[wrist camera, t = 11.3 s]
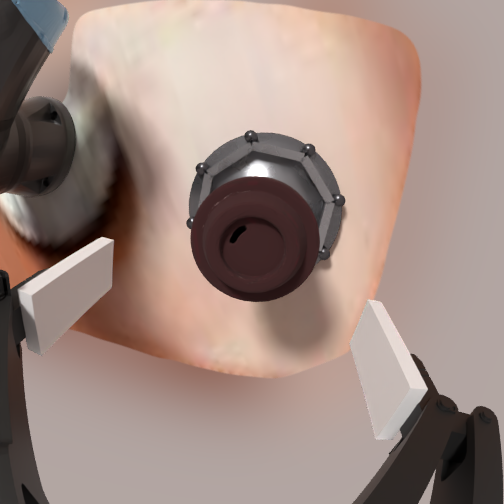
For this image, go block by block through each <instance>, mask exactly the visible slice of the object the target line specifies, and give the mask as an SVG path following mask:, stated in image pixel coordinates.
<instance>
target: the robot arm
mask: <svg viewBox="0 0 504 504" xmlns="http://www.w3.org/2000/svg"><path fill="white" fill-rule="evenodd" d="M68 20H69V14H68V11H67V9H66V8H65V7H64V6H63V5H62V4H61V3H60V2H58V1H57V0H0V194H2V193H11V194H16V195H21V196H26V197H37V196H40V195H44V194H47V193H50V192H51V191H53V190H54V189H56V188H57V187H58V186H59V185H60V184H61V183H62V181H63V180H64V178H65V177H66V175H67V173H68V171H69V169H70V166H71V163H72V160H73V155H74V149H75V131H74V125H73V121H72V118H71V116H70V113H69V112H68V110H67V108H66V107H65V106H64V105H63V104H62V103H61V102H60V101H58V100H56V99H54V98H50V97H42V96H38V97H32V98H29V99H26V100H24V98H25V96H26V94H27V92H28V91H29V89H30V87H31V85H32V83H33V81H34V79H35V78H36V76H37V74H38V72H39V71H40V69H41V67H42V66H43V64H44V62H45V61H46V59H47V57H48V56H49V54H50V53H52V52H53V47H54V46H55V44H56V42H57V40H58V38H59V37H60V35H61V34H62V32H63V30H64V29H65V27H66V26H67V23H68ZM23 100H24V101H23ZM113 247H114V240H112V239H108V238H104V237H101V238H99V239H97V240H95V241H94V242H92V243H90V244H89V245H87V246H85V247H83V248H82V249H80V250H78V251H77V252H75V253H74V254H72V255H70V256H69V257H67V258H65V259H64V260H62V261H60V262H59V263H57V264H56V265H54V266H52V267H51V268H47V269H44V270H41V271H38V272H37V273H35V274H33V275H32V277H29V278H27V279H26V281H25V280H24V281H23V282H21V283H20V284H18V285H17V286H15V287H13V288H12V289H10V283H9V275H8V273H7V272H6V271H3V270H0V504H49V502H48V500H47V498H46V496H45V494H44V491H43V489H42V486H41V482H40V478H39V474H38V470H37V466H36V461H35V457H34V452H33V447H32V442H31V436H30V430H29V424H28V417H27V409H26V401H25V392H24V380H23V367H22V366H23V365H22V348H21V343H20V342H21V341H22V340H23V339H24V338H26V342H27V346H28V349H29V350H31V351H33V352H35V353H37V354H39V355H41V356H42V355H43V354H44V353H45V352H46V351H47V350H48V349H49V348H50V347H51V346H52V345H53V344H54V343H55V342H56V341H57V340H58V339H59V338H60V337H61V336H62V335H63V334H64V333H65V332H66V331H67V330H68V329H69V328H70V327H71V326H72V325H73V324H74V323H75V322H76V321H77V320H78V319H79V318H80V317H81V316H82V315H83V314H84V313H85V312H86V311H88V310H89V309H90V308H91V307H92V306H93V305H94V304H95V303H96V302H97V301H98V300H99V299H100V298H101V297H102V296H103V295H104V294H105V293H107V292H108V291H109V290H110V289H111V288H112V269H113ZM349 344H350V348H351V351H352V354H353V357H354V361H355V365H356V368H357V372H358V375H359V379H360V382H361V386H362V389H363V393H364V397H365V400H366V404H367V408H368V412H369V416H370V419H371V423H372V427H373V431H374V435H375V439H381V440H382V439H383V440H387V439H388V440H392V439H393V438H394V437H395V436H396V434H397V433H398V432H399V430H400V431H401V434H402V438H401V440H400V441H399V442H398V443H397V444H396V446H395V447H394V448H393V449H392V451H391V452H390V453H389V457H388V458H387V460H386V461H385V462H384V464H383V465H382V467H381V468H380V469H379V471H378V472H377V473H376V475H375V476H374V477H373V479H372V480H371V482H370V483H369V484H368V485H367V486H366V488H365V489H364V490H363V491H362V493H361V494H360V495H359V496H358V498H357V499H356V500H355V501H354V502H353V503H352V504H418V503H419V500H420V499H421V497H422V495H423V493H424V491H425V489H426V487H427V485H428V484H429V482H430V479H431V477H432V475H433V473H434V471H435V469H436V473H435V479H434V485H433V490H432V496H431V501H430V504H503V470H502V455H501V443H500V434H499V425H498V420H497V417H496V415H495V414H494V412H493V411H491V410H490V409H488V408H486V407H483V406H478V407H476V408H475V409H474V410H473V412H472V413H471V414H470V415H469V414H466V413H462V412H458V408H457V405H456V404H455V403H454V402H453V400H451V399H450V398H448V397H446V396H444V395H439V393H438V392H437V389H436V388H435V386H434V384H433V382H432V380H431V378H430V377H429V374H428V372H427V371H425V370H426V369H425V367H424V365H423V363H422V361H420V360H419V359H418V358H417V357H416V356H415V355H414V354H410V353H409V351H408V349H407V348H406V346H405V344H404V342H403V340H402V338H401V337H400V335H399V333H398V331H397V329H396V327H395V326H394V324H393V322H392V320H391V319H390V317H389V315H388V313H387V312H386V310H385V308H384V307H383V305H382V303H381V302H379V301H374V300H369V299H368V300H367V302H366V305H365V307H364V310H363V312H362V315H361V317H360V320H359V322H358V325H357V327H356V329H355V332H354V334H353V336H352V339H351V341H350V343H349Z"/></svg>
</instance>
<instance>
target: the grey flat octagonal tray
mask: <svg viewBox="0 0 504 504" xmlns="http://www.w3.org/2000/svg"><path fill="white" fill-rule="evenodd" d="M196 172H197V174H196V177H195V179H194V182H193V184H192V188H191V192H190V199H189V215H190V218H189V219H188V220H187V227H188V228H190V229H191V228H192V223H193V220H194V217H195V215H196V212H197V210H198V208H199V207H200V205H201V204H202V202H203V201H204V200H205V198H206V197H207V196H208V195H209V194H211V193H212V192H213V191H214V190H215V189H217V188H218V187H220V186H221V185H223V184H225V183H227V182H229V181H231V180H234V179H237V178H241V177H246V176H264V177H269V178H273V179H276V180H279V181H281V182H283V183H285V184H287V185H289V186H291V187H292V188H293V189H295V190H296V191H297V192H298V193H299V194H300V195H301V196H302V197H303V198H304V199H305V200H306V202H307V203H308V204H309V206H310V208H311V209H312V211H313V214H314V216H315V218H316V221H317V224H318V228H319V235H320V248H319V254H318V258H317V261H316V264H317V263H318V262H319V261H320V260H326V259H328V258H329V256H330V252H329V249H330V248H331V246H332V244H333V242H334V240H335V238H336V236H337V233H338V230H339V227H340V222H341V214H342V206H343V205H344V204H345V198H344V196H342V195H341V194H340V190H339V187H338V184H337V181H336V179H335V177H334V175H333V173H332V171H331V169H330V168H329V166H328V165H327V163H326V162H325V161H324V160H323V159H322V158H321V156H320V155H319V154H318V153H316V152H315V147H314V146H313V145H312V144H304V143H302V142H301V141H298V140H296V139H294V138H292V137H288V136H285V135H281V134H275V133H256V132H254V131H252V130H250V131H247V132H246V133H245V135H244V136H240V137H238V138H235V139H233V140H230V141H229V142H227V143H225V144H223V145H222V146H220V147H219V148H218V149H217V150H215V151H214V152H213V153H212V154H211V155H210V156H209V157H208V158H207V159H206V160H205V162H204V163H199V164H198V165H197V166H196ZM316 264H315V265H316Z"/></svg>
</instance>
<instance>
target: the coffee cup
mask: <svg viewBox="0 0 504 504" xmlns="http://www.w3.org/2000/svg"><path fill="white" fill-rule="evenodd" d="M191 248H192V253H193V256H194V259H195V262H196V264H197V266H198V268H199V270H200V271H201V273H202V274H203V276H204V277H205V278H206V279H207V280H208V281H209V282H210V283H211V284H212V285H213V286H214V287H215V288H217V289H218V290H219V291H221V292H223V293H225V294H226V295H228V296H230V297H233V298H236V299H239V300H243V301H251V302H263V301H270V300H274V299H277V298H280V297H283V296H285V295H287V294H289V293H291V292H292V291H294V290H295V289H296V288H298V287H299V286H300V285H301V284H302V283H303V282H304V281H305V280H306V279H307V277H308V276H309V275H310V273H311V272H312V270H313V268H314V266H315V264H316V261H317V258H318V254H319V248H320V235H319V228H318V224H317V221H316V218H315V216H314V214H313V211H312V209H311V208H310V206H309V204H308V203H307V202H306V200H305V199H304V198H303V197H302V196H301V195H300V194H299V193H298V192H297V191H296V190H295V189H293V188H292V187H291V186H289V185H287V184H285V183H283V182H281V181H279V180H276V179H273V178H269V177H264V176H246V177H241V178H237V179H234V180H231V181H229V182H227V183H225V184H223V185H221V186H220V187H218V188H217V189H215V190H214V191H213V192H212V193H211V194H209V195H208V196H207V197H206V198H205V200H204V201H203V202H202V204H201V205H200V207H199V208H198V210H197V212H196V215H195V217H194V220H193V223H192V228H191Z"/></svg>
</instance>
